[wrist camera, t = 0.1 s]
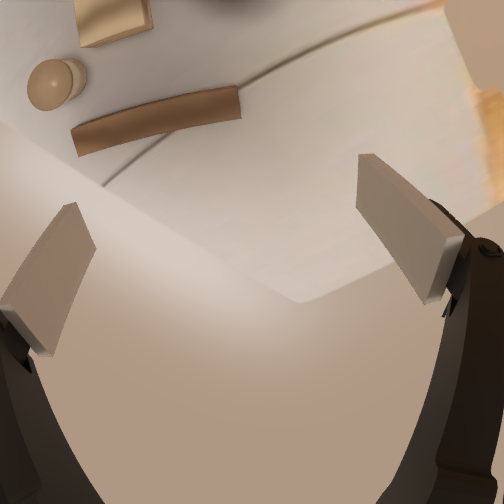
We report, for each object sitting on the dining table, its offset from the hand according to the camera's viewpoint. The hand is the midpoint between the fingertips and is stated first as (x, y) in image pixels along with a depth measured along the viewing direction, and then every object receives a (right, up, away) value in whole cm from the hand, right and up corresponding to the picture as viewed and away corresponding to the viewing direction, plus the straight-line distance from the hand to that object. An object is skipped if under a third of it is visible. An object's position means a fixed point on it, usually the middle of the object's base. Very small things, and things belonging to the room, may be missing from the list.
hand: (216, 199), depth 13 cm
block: (-15, +28, +13) cm, 34 cm away
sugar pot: (-23, +21, +17) cm, 35 cm away
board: (-11, +15, +22) cm, 29 cm away
